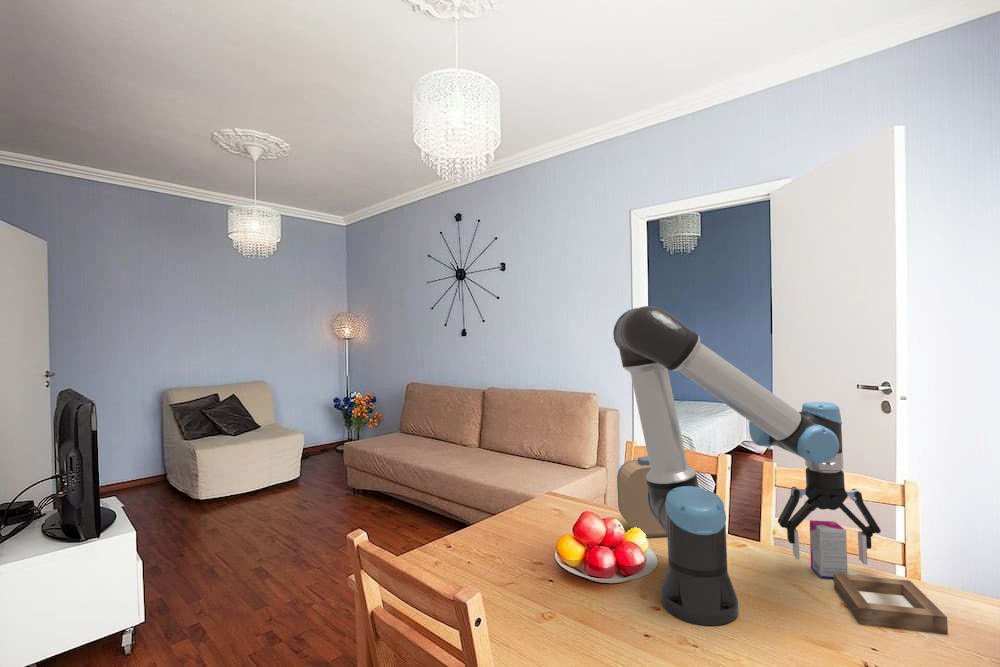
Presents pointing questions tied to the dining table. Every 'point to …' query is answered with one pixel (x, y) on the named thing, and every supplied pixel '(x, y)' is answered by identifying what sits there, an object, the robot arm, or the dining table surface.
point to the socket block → (889, 603)
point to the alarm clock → (637, 497)
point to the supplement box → (828, 549)
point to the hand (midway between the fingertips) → (829, 559)
